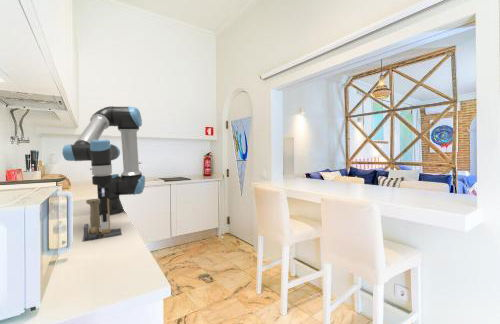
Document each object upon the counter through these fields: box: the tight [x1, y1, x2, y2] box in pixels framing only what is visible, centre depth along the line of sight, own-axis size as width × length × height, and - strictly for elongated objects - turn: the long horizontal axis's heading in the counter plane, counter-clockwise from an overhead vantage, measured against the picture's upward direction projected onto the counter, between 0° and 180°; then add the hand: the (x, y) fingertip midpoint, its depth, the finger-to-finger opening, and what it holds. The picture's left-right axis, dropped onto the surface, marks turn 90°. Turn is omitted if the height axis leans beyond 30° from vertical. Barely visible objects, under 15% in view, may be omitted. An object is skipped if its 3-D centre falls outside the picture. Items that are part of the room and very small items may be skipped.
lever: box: [100, 198, 111, 235], centre depth 109 cm, size 4×4×15 cm
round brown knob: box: [88, 227, 100, 235], centre depth 107 cm, size 4×4×4 cm
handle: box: [85, 198, 101, 229], centre depth 118 cm, size 5×6×15 cm
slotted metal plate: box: [81, 223, 123, 242], centre depth 109 cm, size 11×14×6 cm
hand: (105, 227), depth 109 cm, fingers closed on lever, 3 cm apart
